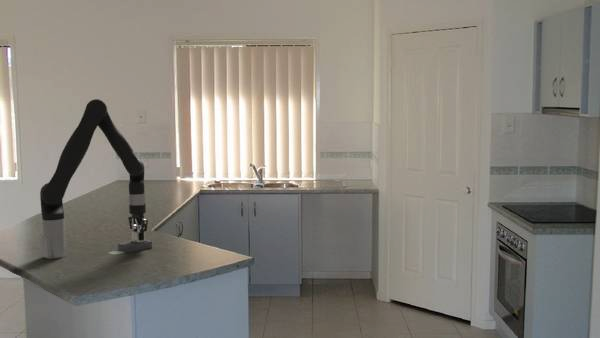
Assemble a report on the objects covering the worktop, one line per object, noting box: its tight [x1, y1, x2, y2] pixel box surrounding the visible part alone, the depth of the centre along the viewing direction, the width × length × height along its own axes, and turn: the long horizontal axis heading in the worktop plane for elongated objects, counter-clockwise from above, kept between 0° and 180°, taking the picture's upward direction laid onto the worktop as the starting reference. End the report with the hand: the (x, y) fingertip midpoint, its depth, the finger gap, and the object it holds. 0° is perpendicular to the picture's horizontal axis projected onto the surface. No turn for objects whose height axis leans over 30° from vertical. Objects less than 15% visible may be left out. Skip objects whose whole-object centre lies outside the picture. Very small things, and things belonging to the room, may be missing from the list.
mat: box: [106, 249, 127, 256], centre depth 296 cm, size 6×6×1 cm
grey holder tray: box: [117, 239, 153, 253], centre depth 303 cm, size 13×8×4 cm, turn 134°
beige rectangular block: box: [131, 230, 147, 244], centre depth 304 cm, size 4×4×8 cm
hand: (138, 239), depth 304 cm, fingers closed on beige rectangular block, 4 cm apart
